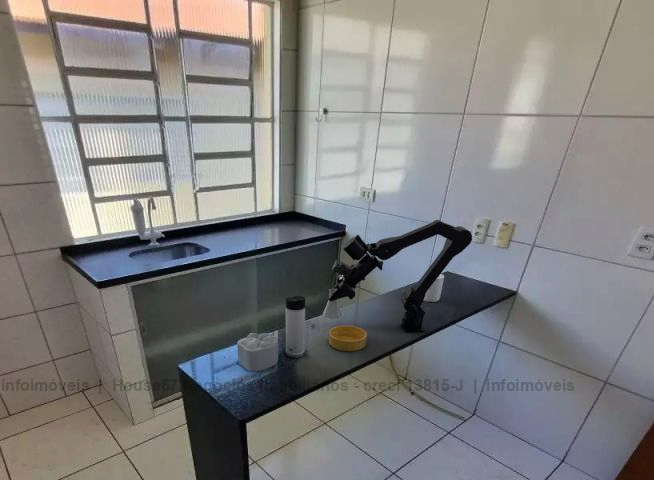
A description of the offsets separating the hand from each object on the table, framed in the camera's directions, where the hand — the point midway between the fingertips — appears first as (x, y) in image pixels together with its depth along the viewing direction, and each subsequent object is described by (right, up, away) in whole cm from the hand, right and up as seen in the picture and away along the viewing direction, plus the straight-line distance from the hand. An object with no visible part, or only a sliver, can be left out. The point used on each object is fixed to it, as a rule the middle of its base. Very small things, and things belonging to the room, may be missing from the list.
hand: (329, 298), depth 150 cm
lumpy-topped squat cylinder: (-24, -24, -17) cm, 38 cm away
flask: (+1, -6, +4) cm, 7 cm away
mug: (+49, +7, +31) cm, 58 cm away
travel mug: (-13, -21, -13) cm, 28 cm away
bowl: (+6, -17, -7) cm, 19 cm away
